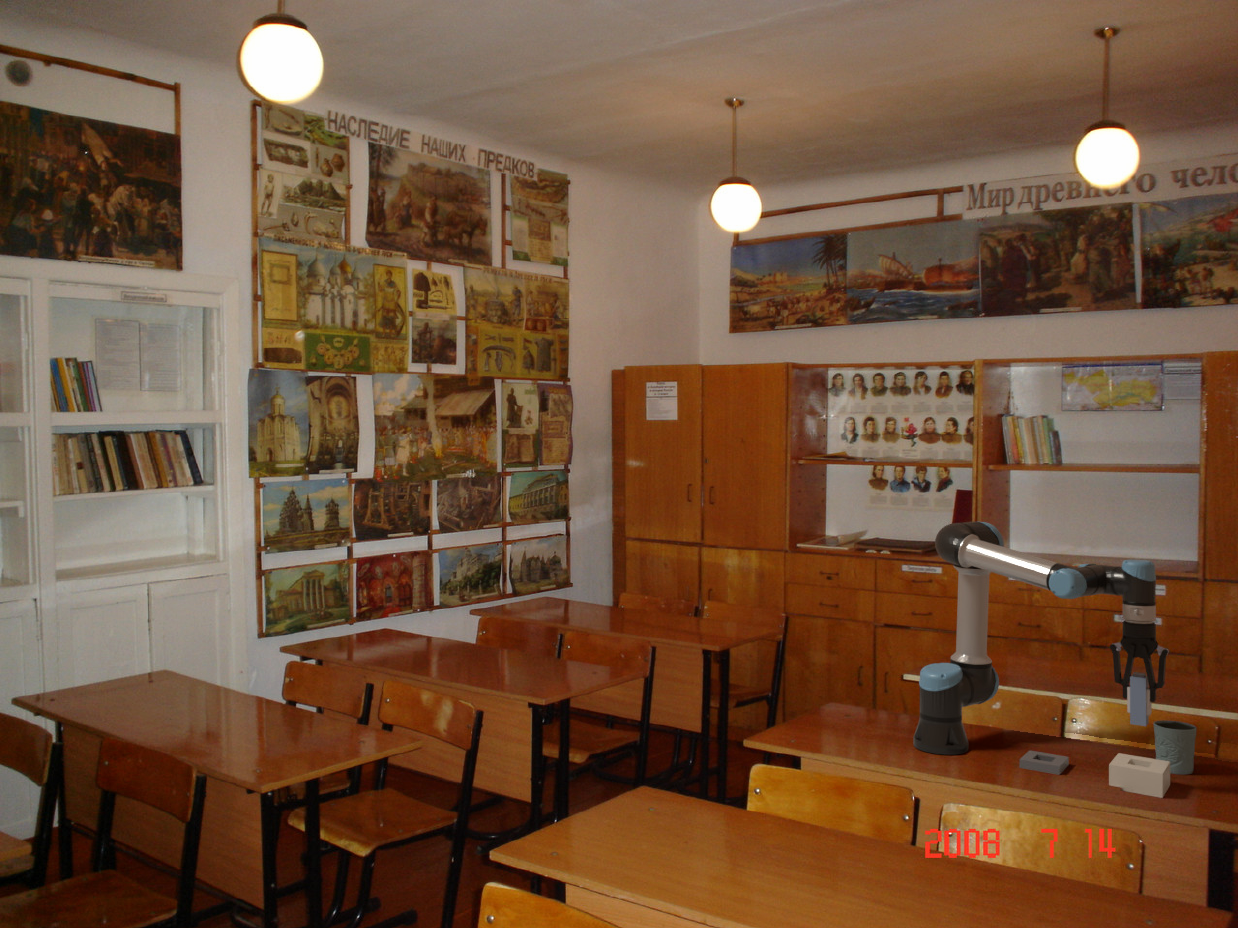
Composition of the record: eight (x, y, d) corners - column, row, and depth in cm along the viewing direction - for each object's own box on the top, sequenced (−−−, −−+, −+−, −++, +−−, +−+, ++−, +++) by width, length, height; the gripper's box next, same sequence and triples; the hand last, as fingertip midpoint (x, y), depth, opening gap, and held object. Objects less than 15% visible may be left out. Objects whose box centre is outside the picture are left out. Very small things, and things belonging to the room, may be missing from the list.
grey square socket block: (1019, 770, 263) (1019, 759, 263) (1029, 760, 271) (1029, 750, 271) (1059, 777, 257) (1059, 766, 257) (1068, 767, 265) (1068, 756, 265)
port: (1108, 788, 249) (1109, 764, 249) (1118, 775, 259) (1118, 752, 259) (1162, 797, 242) (1162, 773, 242) (1170, 784, 251) (1170, 761, 251)
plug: (1130, 723, 250) (1129, 673, 250) (1132, 720, 253) (1132, 671, 252) (1146, 726, 248) (1145, 675, 247) (1148, 723, 250) (1148, 672, 250)
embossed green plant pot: (1155, 772, 261) (1155, 727, 261) (1150, 761, 271) (1151, 718, 270) (1199, 777, 257) (1199, 731, 257) (1193, 765, 267) (1193, 721, 267)
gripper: (1100, 619, 252) (1100, 711, 252) (1174, 626, 242) (1174, 721, 242) (1106, 616, 258) (1106, 705, 258) (1178, 622, 248) (1179, 714, 248)
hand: (1139, 712), depth 250 cm, fingers closed on plug, 4 cm apart
